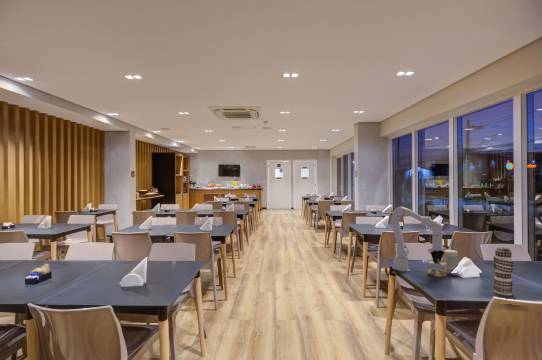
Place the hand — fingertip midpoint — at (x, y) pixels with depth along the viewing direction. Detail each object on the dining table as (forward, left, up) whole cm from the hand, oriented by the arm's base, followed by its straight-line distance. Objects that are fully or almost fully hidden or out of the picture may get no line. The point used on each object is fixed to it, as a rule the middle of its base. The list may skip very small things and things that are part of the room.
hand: (436, 262), depth 216 cm
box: (0, 0, -9) cm, 9 cm away
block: (0, 0, -8) cm, 8 cm away
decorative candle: (+39, +4, -9) cm, 40 cm away
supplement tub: (-1, +15, -9) cm, 17 cm away
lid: (0, 0, -2) cm, 2 cm away
